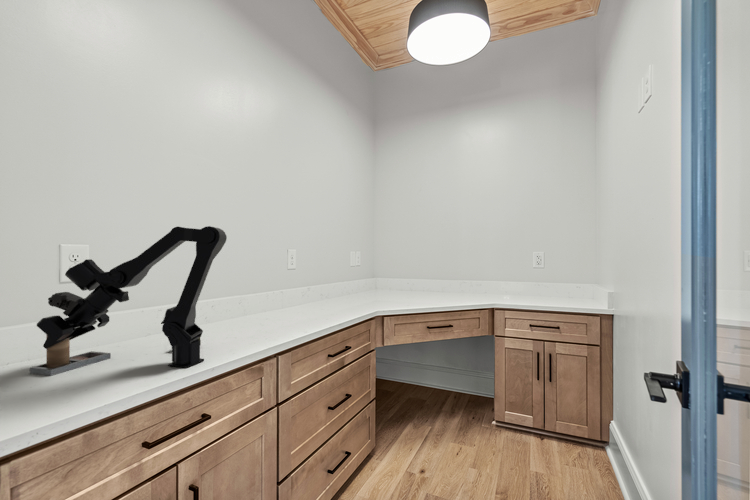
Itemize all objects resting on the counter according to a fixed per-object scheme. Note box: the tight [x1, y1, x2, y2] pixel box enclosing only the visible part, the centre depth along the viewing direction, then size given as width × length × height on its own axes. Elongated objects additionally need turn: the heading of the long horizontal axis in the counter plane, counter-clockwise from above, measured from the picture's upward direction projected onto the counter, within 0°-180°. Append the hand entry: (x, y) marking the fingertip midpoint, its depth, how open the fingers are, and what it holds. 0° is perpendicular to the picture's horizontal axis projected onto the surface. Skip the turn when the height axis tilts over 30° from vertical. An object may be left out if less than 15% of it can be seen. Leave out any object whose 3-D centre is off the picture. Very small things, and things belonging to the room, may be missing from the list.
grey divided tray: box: [29, 350, 112, 377], centre depth 94 cm, size 8×15×2 cm, turn 165°
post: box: [45, 333, 71, 368], centre depth 91 cm, size 4×4×12 cm
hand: (52, 344), depth 91 cm, fingers closed on post, 4 cm apart
